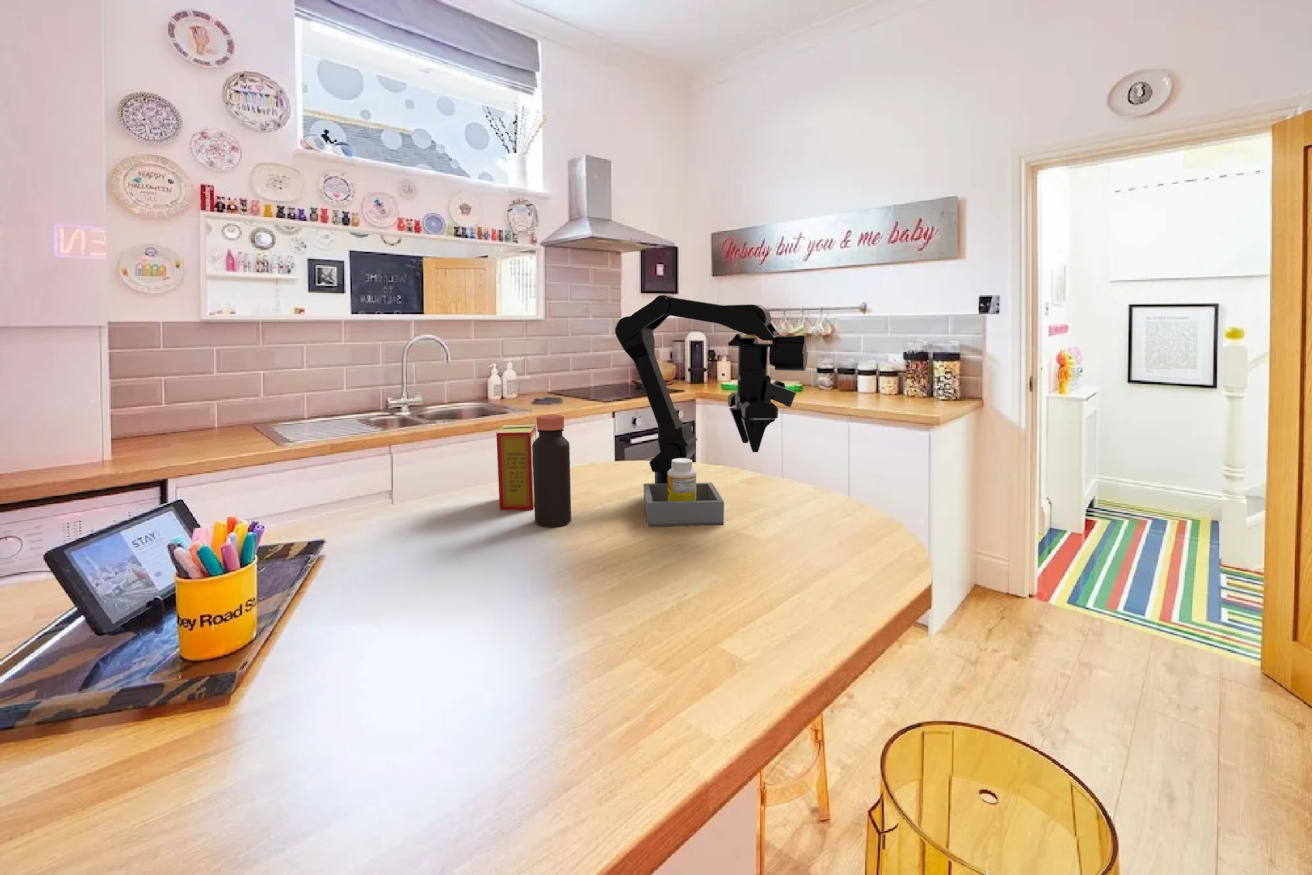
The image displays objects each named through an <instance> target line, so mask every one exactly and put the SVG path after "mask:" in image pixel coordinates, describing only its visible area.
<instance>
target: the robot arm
mask: <svg viewBox="0 0 1312 875" xmlns="http://www.w3.org/2000/svg"><path fill="white" fill-rule="evenodd" d="M670 316H672V317H675V318H676V317H677V318H682V319H683V318H684V319H688V320H695V321H701V322H707V323H713V324H718V325H721V326H724V327H727V328H728V329H731V330H732V331H736V332H738V333H736V334H735V336H734V337H733V338H732V339H731V340H730V341H728V342H727V346H729V347H738V350H737V355H738V356H737V373H735V380H737V388H736V390H737V391H734V392H733V391H732V392H731V393H730V394H728V395H727V406H728V407H729V409H728V410H729V411H730V413H731V416H732V419H733V421H734V423H735V426H736V429H737V431H738V435H739V437H740V439H741V442H742V443H743V444H748V443H749V447H750V449H751V452H752V453H759V450H760V448H761V447H760V446H761V444H762V440H763V437H764V434H765V431H766V428H767V427H768V426H769V425H771V423H773V422H775V421H776V419H778V418H779V408H778V407H777V405H776V404H775V403H774V402H778V403H780V404H781V405H784V406H785V407H788V408H791V407H792V405H793V401H794V400H795V398H796V397H795V396H796V394H797V392H795V391H793V390H791V389H788V388H786V383H785V382H783V381H780V380H777V379H776V380H775V381H774V382H772V377H771V376H770V375H769V374H768V361H769V365H770V366H772V367H774V370H775V371H787V372H788V371H789V372H791V371H792V372H806V370H807V366H808V355H809V353H808V350H807V336H806V334H798V335H794V336H793V335H792V336H791V335H780V334H779V332H778V330H777V329H776V328H775V326H774V325H773V324H772V315H771V313H770V310H768V308H767V307H765V306H764V305H761V304H727V305H726V304H725V305H723V304H717V303H711V302H705V301H699V300H698V301H697V300H691V299H685V298H678V297H674V296H672V295H668V294H665V295H663V294H660V295H657V296H656V297H655V298H654V299H652V301H651V302H649V303H648V304H646V305H645V306H643V307H641V308H640V309H638V310H637V311H635V312H634V313H632V314H631V315H627V316H623V317H622V318H620V319H619V321H617V323H616V325H615V328H614V332H615V337H616V338H617V340H618V342H619V344H620V346H621V347H622V349H623V351H624V352H625V353H626V354H627V355H628V356H629V358H630V359H631V360H632V361H633V363H634V365H635V368H636V370H637V374H638V376H639V378H640V381H641V384H642V388H643V389H644V392H645V395H646V397H647V400H648V403H649V405H650V408H651V411H652V413H653V416H654V419H655V421H656V425H657V443H658V447H659V453H658V454H656V456H654V457H653V458H652V459H651V460H650V461H649V466H650V469H651V472H653V473H654V483H668V471H669V470H670V469H672V466H671V465H672V460H673V459H677V458H687V459H690V458H691V457H692V456H693V455H694V454H695V451H696V449H697V448H696V447H697V445H696V442H697V441H698V438H697V437H696V436H695V434H694V432H693V431H694V430H693V428H692V424H691V422H687V423H685V424H684V423H683V421H682V420H681V419H680V418H679V416H678V414H677V411H676V408H675V405H674V403H673V401H672V398H671V395H670V393H669V389H668V386H667V383H666V382H665V379H664V376H663V373H662V370H661V368H660V365H659V363H658V361H657V360H658V359H657V357H656V353H655V351H656V350H655V347H656V344H655V342H656V341H655V335H654V330H656V329H658V328H659V327H660V326H661V324H663V322H664V321H666V319H667V318H669V317H670ZM741 334H745V335H749V336H753V335H754V336H755V337H743V336H742V335H741ZM758 339H760V340H761V341H771V342H772V343H768V342H767V343H766V342H765V343H764V342H763V343H762V342H759V340H758ZM768 349H769V350H768ZM768 351H769V352H768ZM768 359H769V360H768ZM772 401H774V402H772Z"/></svg>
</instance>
